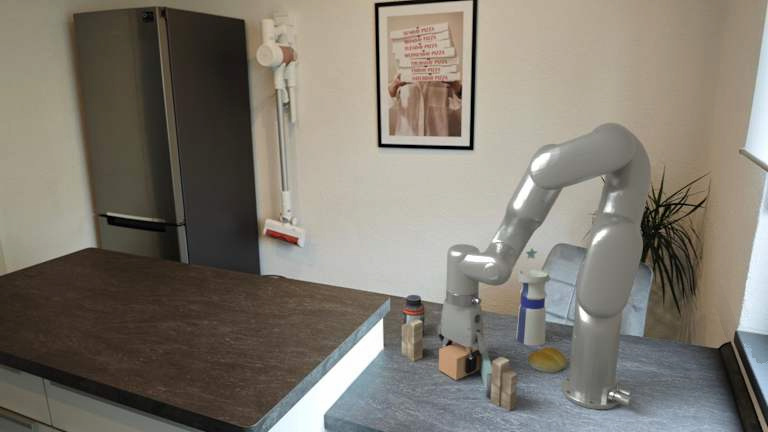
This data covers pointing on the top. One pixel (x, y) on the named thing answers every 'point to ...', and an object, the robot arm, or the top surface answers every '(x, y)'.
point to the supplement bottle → (413, 310)
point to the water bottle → (532, 306)
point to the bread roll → (547, 360)
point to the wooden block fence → (501, 375)
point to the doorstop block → (455, 361)
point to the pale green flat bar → (486, 372)
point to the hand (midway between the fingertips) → (459, 365)
